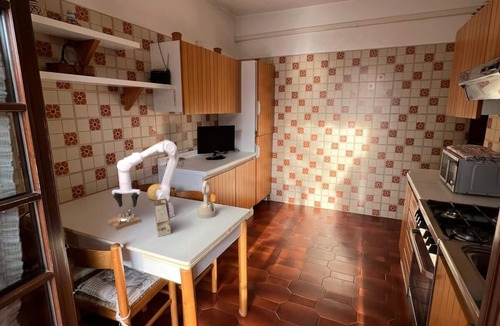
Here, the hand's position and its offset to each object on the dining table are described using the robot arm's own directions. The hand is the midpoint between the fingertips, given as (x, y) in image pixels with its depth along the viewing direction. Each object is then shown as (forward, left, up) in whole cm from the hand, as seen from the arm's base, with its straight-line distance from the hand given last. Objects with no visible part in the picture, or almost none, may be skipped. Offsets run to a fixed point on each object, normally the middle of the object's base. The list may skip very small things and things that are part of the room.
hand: (127, 206), depth 144 cm
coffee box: (-24, -7, -10) cm, 27 cm away
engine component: (-24, -35, -10) cm, 43 cm away
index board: (+2, +2, -10) cm, 10 cm away
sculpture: (+24, -30, -10) cm, 39 cm away
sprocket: (+2, +2, -8) cm, 8 cm away
